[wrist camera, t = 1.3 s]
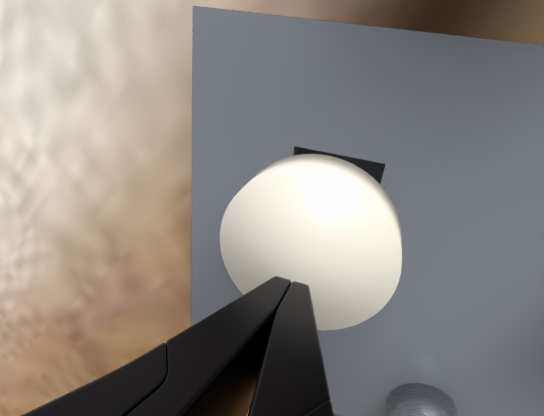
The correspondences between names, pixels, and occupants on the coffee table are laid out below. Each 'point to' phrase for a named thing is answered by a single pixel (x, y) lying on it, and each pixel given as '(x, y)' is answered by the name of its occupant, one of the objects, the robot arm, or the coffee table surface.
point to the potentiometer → (419, 401)
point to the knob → (316, 236)
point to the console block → (392, 191)
